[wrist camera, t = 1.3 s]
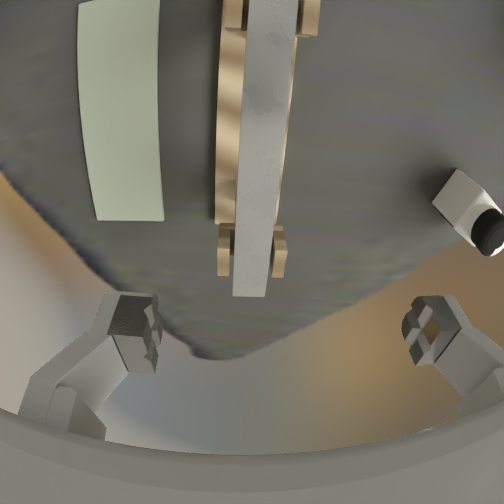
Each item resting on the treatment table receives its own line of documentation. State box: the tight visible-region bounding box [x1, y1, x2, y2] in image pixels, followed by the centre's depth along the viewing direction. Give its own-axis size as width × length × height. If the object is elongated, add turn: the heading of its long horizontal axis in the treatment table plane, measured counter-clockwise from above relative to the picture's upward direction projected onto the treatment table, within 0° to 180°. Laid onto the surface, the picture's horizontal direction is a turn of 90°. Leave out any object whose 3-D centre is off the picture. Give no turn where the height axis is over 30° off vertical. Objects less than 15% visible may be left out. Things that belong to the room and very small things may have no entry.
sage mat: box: [77, 0, 164, 221], centre depth 31 cm, size 30×10×1 cm, turn 176°
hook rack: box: [215, 0, 320, 278], centre depth 26 cm, size 30×8×15 cm, turn 176°
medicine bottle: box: [432, 169, 504, 256], centre depth 35 cm, size 7×7×12 cm
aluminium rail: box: [233, 0, 298, 297], centre depth 22 cm, size 28×3×3 cm, turn 176°
